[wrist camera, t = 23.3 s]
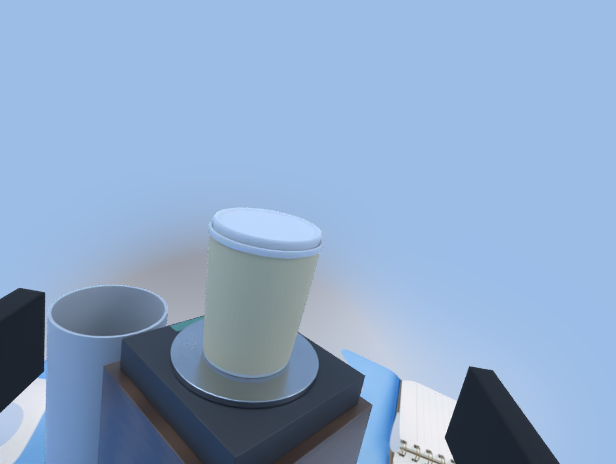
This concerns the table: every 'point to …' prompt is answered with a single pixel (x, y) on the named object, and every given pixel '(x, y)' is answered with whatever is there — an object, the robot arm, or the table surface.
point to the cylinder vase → (88, 361)
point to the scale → (234, 420)
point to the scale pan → (238, 390)
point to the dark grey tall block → (176, 453)
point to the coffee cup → (256, 288)
